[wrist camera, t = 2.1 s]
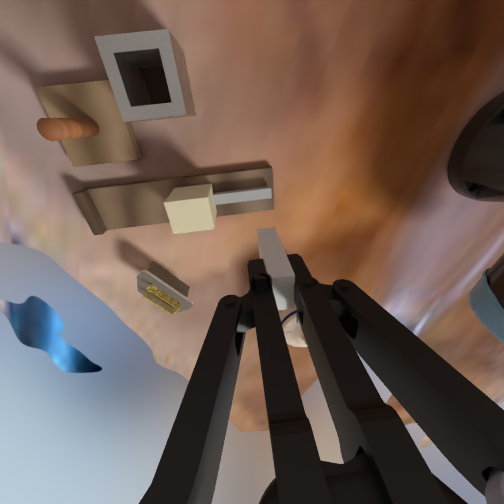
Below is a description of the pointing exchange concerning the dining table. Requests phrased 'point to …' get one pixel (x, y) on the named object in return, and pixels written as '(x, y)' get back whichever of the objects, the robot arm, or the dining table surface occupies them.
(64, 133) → the square plate with peg
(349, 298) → the robot arm
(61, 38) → the dining table surface
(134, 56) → the grey hollow square block
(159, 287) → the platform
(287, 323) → the teacup with lid
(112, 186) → the rail
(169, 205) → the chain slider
